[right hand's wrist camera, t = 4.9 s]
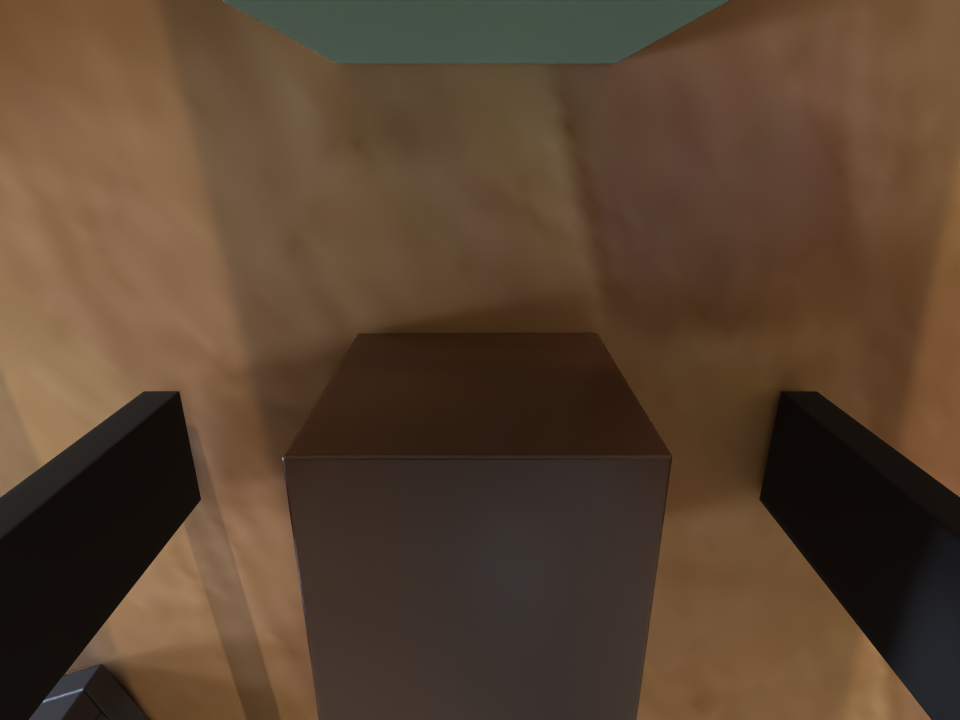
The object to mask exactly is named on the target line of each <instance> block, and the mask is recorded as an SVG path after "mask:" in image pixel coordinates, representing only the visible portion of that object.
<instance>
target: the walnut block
mask: <svg viewBox="0 0 960 720" xmlns="http://www.w3.org/2000/svg"><path fill="white" fill-rule="evenodd" d="M282 460H283V467H284V474H285V482H286V489H287V496H288V503H289V510H290V517H291V524H292V531H293V538H294V545H295V552H296V559H297V567H298V574H299V581H300V588H301V595H302V602H303V609H304V616H305V623H306V630H307V637H308V644H309V652H310V659H311V666H312V673H313V680H314V687H315V694H316V701H317V708H318V715H319V720H636V719H637V712H638V704H639V697H640V690H641V682H642V675H643V668H644V660H645V653H646V645H647V638H648V631H649V623H650V616H651V609H652V601H653V594H654V587H655V579H656V572H657V565H658V557H659V550H660V543H661V535H662V528H663V520H664V513H665V506H666V498H667V491H668V484H669V476H670V469H671V462H672V456H671V454H670V452H669V450H668V449H667V447H666V445H665V444H664V442H663V440H662V439H661V437H660V436H659V434H658V432H657V431H656V429H655V427H654V426H653V424H652V422H651V421H650V419H649V418H648V416H647V414H646V413H645V411H644V409H643V408H642V406H641V404H640V403H639V401H638V400H637V398H636V396H635V395H634V393H633V391H632V390H631V388H630V386H629V385H628V383H627V382H626V380H625V378H624V377H623V375H622V373H621V372H620V370H619V368H618V367H617V365H616V364H615V362H614V360H613V359H612V357H611V355H610V354H609V352H608V350H607V349H606V347H605V346H604V344H603V342H602V341H601V339H600V337H599V336H598V334H596V333H584V334H358V335H357V337H356V338H355V340H354V342H353V343H352V345H351V347H350V348H349V350H348V351H347V353H346V355H345V356H344V358H343V359H342V361H341V363H340V364H339V366H338V367H337V369H336V371H335V372H334V374H333V376H332V377H331V379H330V380H329V382H328V384H327V385H326V387H325V388H324V390H323V392H322V393H321V395H320V396H319V398H318V400H317V401H316V403H315V405H314V406H313V408H312V409H311V411H310V413H309V414H308V416H307V417H306V419H305V421H304V422H303V424H302V426H301V427H300V429H299V430H298V432H297V434H296V435H295V437H294V438H293V440H292V442H291V443H290V445H289V446H288V448H287V450H286V451H285V453H284V455H283V457H282Z"/></svg>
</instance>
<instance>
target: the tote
mask: <svg viewBox="0 0 960 720" xmlns="http://www.w3.org/2000/svg"><path fill="white" fill-rule="evenodd" d="M29 720H149V719H148V718H147V717H146V715H145V714H144V713H143V712H142V711H141V709H140V708H139V707H138V706H137V705H136V703H135V702H134V701H133V700H132V699H131V697H130V696H129V695H128V694H127V693H126V691H125V690H124V689H123V688H122V687H121V685H120V684H119V683H118V682H117V681H116V679H115V678H114V677H113V676H112V675H111V673H110V672H109V671H108V670H107V669H106V667H105V666H104V665H98V666H95V667H91V668H88V669H85V670H82V671H79V672H75V673H72V674H69V675H66V676H63V677H62V678H61V679H60V680H59V682H58V683H57V684H56V685H55V687H54V688H53V689H52V691H51V692H50V693H49V694H48V696H47V697H46V698H45V700H44V701H43V702H42V703H41V705H40V706H39V707H38V708H37V710H36V711H35V712H34V714H33V715H32V716H31V717H30V719H29Z"/></svg>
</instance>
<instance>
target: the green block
mask: <svg viewBox="0 0 960 720" xmlns="http://www.w3.org/2000/svg"><path fill="white" fill-rule="evenodd" d="M222 1H224V2H226V3H227V4H229V5H231V6H233V7H235V8H237V9H238V10H240V11H242V12H244V13H246V14H248V15H249V16H251V17H253V18H255V19H257V20H259V21H261V22H262V23H264V24H266V25H268V26H270V27H272V28H273V29H275V30H277V31H279V32H281V33H283V34H285V35H286V36H288V37H290V38H292V39H294V40H296V41H297V42H299V43H301V44H303V45H305V46H307V47H308V48H310V49H312V50H314V51H316V52H318V53H320V54H321V55H323V56H325V57H327V58H329V59H331V60H332V61H334V62H336V63H338V64H616V63H618V62H620V61H622V60H624V59H625V58H627V57H629V56H631V55H633V54H634V53H636V52H638V51H640V50H642V49H643V48H645V47H647V46H649V45H651V44H652V43H654V42H656V41H658V40H660V39H661V38H663V37H665V36H667V35H669V34H670V33H672V32H674V31H676V30H678V29H679V28H681V27H683V26H685V25H687V24H689V23H690V22H692V21H694V20H696V19H698V18H699V17H701V16H703V15H705V14H707V13H708V12H710V11H712V10H714V9H716V8H717V7H719V6H721V5H723V4H725V3H726V2H728V1H730V0H222Z"/></svg>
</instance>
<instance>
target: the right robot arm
mask: <svg viewBox="0 0 960 720" xmlns="http://www.w3.org/2000/svg"><path fill="white" fill-rule="evenodd" d="M200 500H201V497H200V492H199V487H198V482H197V477H196V472H195V467H194V463H193V458H192V453H191V448H190V443H189V438H188V433H187V428H186V423H185V418H184V413H183V408H182V403H181V398H180V393H179V392H143V393H141V394H140V395H139V396H137V397H136V398H134V399H133V400H132V401H130V402H129V403H128V404H126V405H125V406H124V407H122V408H121V409H120V410H118V411H117V412H116V413H114V414H113V415H111V416H110V417H109V418H107V419H106V420H105V421H103V422H102V423H101V424H99V425H98V426H97V427H95V428H94V429H93V430H91V431H90V432H89V433H87V434H86V435H84V436H83V437H82V438H80V439H79V440H78V441H76V442H75V443H74V444H72V445H71V446H70V447H68V448H67V449H66V450H64V451H63V452H61V453H60V454H59V455H57V456H56V457H55V458H53V459H52V460H51V461H49V462H48V463H47V464H45V465H44V466H43V467H41V468H40V469H38V470H37V471H36V472H34V473H33V474H32V475H30V476H29V477H28V478H26V479H25V480H24V481H22V482H21V483H20V484H18V485H17V486H16V487H14V488H13V489H11V490H10V491H9V492H7V493H6V494H5V495H3V496H2V497H1V498H0V720H29V719H30V717H31V716H32V715H33V714H34V712H35V711H36V710H37V708H38V707H39V706H40V705H41V703H42V702H43V701H44V700H45V698H46V697H47V696H48V694H49V693H50V692H51V691H52V689H53V688H54V687H55V685H56V684H57V683H58V682H59V680H60V679H61V678H62V677H63V675H64V674H65V673H66V671H67V670H68V669H69V668H70V666H71V665H72V664H73V662H74V661H75V660H76V659H77V657H78V656H79V655H80V654H81V652H82V651H83V650H84V648H85V647H86V646H87V645H88V643H89V642H90V641H91V639H92V638H93V637H94V636H95V634H96V633H97V632H98V631H99V629H100V628H101V627H102V625H103V624H104V623H105V622H106V620H107V619H108V618H109V616H110V615H111V614H112V613H113V611H114V610H115V609H116V607H117V606H118V605H119V604H120V602H121V601H122V600H123V599H124V597H125V596H126V595H127V593H128V592H129V591H130V590H131V588H132V587H133V586H134V584H135V583H136V582H137V581H138V579H139V578H140V577H141V576H142V574H143V573H144V572H145V570H146V569H147V568H148V567H149V565H150V564H151V563H152V561H153V560H154V559H155V558H156V556H157V555H158V554H159V553H160V551H161V550H162V549H163V547H164V546H165V545H166V544H167V542H168V541H169V540H170V538H171V537H172V536H173V535H174V533H175V532H176V531H177V530H178V528H179V527H180V526H181V524H182V523H183V522H184V521H185V519H186V518H187V517H188V515H189V514H190V513H191V512H192V510H193V509H194V508H195V506H196V505H197V504H198V503H199V501H200ZM759 500H760V501H761V502H762V503H763V505H764V506H765V507H766V509H767V510H768V511H769V512H770V514H771V515H772V516H773V518H774V519H775V520H776V521H777V523H778V524H779V525H780V526H781V528H782V529H783V530H784V532H785V533H786V534H787V535H788V537H789V538H790V539H791V541H792V542H793V543H794V544H795V546H796V547H797V548H798V549H799V551H800V552H801V553H802V555H803V556H804V557H805V558H806V560H807V561H808V562H809V564H810V565H811V566H812V567H813V569H814V570H815V571H816V572H817V574H818V575H819V576H820V578H821V579H822V580H823V581H824V583H825V584H826V585H827V587H828V588H829V589H830V590H831V592H832V593H833V594H834V596H835V597H836V598H837V599H838V601H839V602H840V603H841V604H842V606H843V607H844V608H845V610H846V611H847V612H848V613H849V615H850V616H851V617H852V619H853V620H854V621H855V622H856V624H857V625H858V626H859V627H860V629H861V630H862V631H863V633H864V634H865V635H866V636H867V638H868V639H869V640H870V642H871V643H872V644H873V645H874V647H875V648H876V649H877V650H878V652H879V653H880V654H881V656H882V657H883V658H884V659H885V661H886V662H887V663H888V665H889V666H890V667H891V668H892V670H893V671H894V672H895V673H896V675H897V676H898V677H899V679H900V680H901V681H902V682H903V684H904V685H905V686H906V688H907V689H908V690H909V691H910V693H911V694H912V695H913V696H914V698H915V699H916V700H917V702H918V703H919V704H920V705H921V707H922V708H923V709H924V711H925V712H926V713H927V714H928V716H929V717H930V718H931V719H932V720H960V497H958V496H957V495H956V494H954V493H953V492H952V491H950V490H949V489H948V488H946V487H945V486H944V485H942V484H941V483H940V482H938V481H937V480H935V479H934V478H933V477H931V476H930V475H929V474H927V473H926V472H925V471H923V470H922V469H921V468H919V467H918V466H917V465H915V464H914V463H912V462H911V461H910V460H908V459H907V458H906V457H904V456H903V455H902V454H900V453H899V452H898V451H896V450H895V449H894V448H892V447H891V446H889V445H888V444H887V443H885V442H884V441H883V440H881V439H880V438H879V437H877V436H876V435H875V434H873V433H872V432H871V431H869V430H868V429H866V428H865V427H864V426H862V425H861V424H860V423H858V422H857V421H856V420H854V419H853V418H852V417H850V416H849V415H848V414H846V413H845V412H844V411H842V410H841V409H839V408H838V407H837V406H835V405H834V404H833V403H831V402H830V401H829V400H827V399H826V398H825V397H823V396H822V395H821V394H819V393H818V392H781V395H780V400H779V405H778V410H777V415H776V420H775V425H774V430H773V435H772V440H771V445H770V450H769V455H768V460H767V465H766V470H765V475H764V480H763V485H762V489H761V494H760V499H759Z"/></svg>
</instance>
